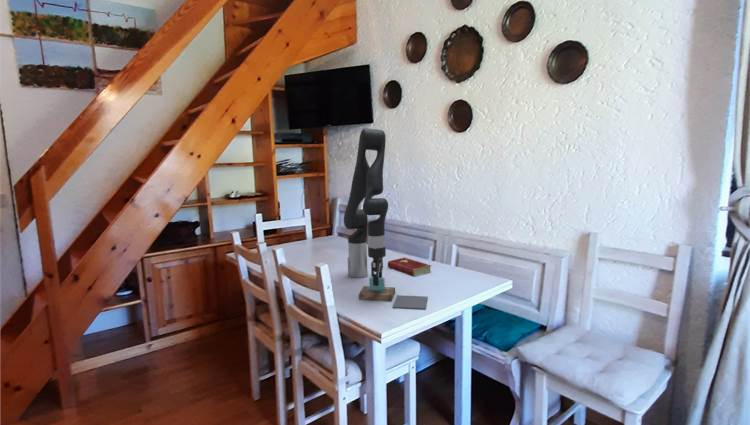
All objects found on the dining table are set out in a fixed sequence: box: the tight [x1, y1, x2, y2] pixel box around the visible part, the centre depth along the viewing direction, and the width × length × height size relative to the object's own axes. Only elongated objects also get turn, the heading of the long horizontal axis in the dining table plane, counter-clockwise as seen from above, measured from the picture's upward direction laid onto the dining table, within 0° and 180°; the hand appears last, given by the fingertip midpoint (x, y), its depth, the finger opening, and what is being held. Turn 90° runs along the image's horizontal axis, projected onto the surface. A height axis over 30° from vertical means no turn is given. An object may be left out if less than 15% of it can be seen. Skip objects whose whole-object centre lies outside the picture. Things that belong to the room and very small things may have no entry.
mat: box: [392, 294, 429, 311], centre depth 169 cm, size 13×13×1 cm
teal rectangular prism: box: [369, 276, 386, 291], centre depth 177 cm, size 6×2×8 cm, turn 79°
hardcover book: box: [387, 257, 433, 277], centre depth 215 cm, size 12×21×4 cm, turn 36°
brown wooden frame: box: [358, 285, 396, 302], centre depth 178 cm, size 14×10×3 cm
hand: (377, 282), depth 177 cm, fingers open, 8 cm apart
